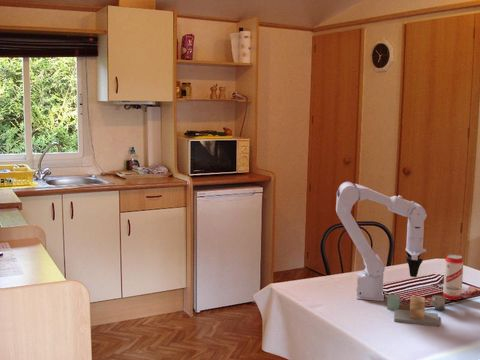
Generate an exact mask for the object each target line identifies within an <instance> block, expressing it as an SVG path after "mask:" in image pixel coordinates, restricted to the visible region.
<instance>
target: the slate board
mask: <svg viewBox="0 0 480 360" xmlns="http://www.w3.org/2000/svg"><path fill="white" fill-rule="evenodd" d="M393 322H396V323H405V324H412V325H425V326H433V327H439V326H440V319H439V314H438V313H434V312H426V311H424V320H422V319H413V318H410V310H406V309H405V310H404V309H399V310H398V309H395V310H394V318H393Z"/></svg>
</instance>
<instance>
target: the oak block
mask: <svg viewBox="0 0 480 360" xmlns="http://www.w3.org/2000/svg"><path fill="white" fill-rule="evenodd" d="M409 301H410V303H409V311H410V318H413V319H422V320H424V312H425V308H426V307H425V305H426V303H425V302H426V299H425V297H424V296H416V295H410V300H409Z"/></svg>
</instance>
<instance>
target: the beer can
mask: <svg viewBox="0 0 480 360" xmlns="http://www.w3.org/2000/svg"><path fill="white" fill-rule="evenodd" d="M443 273H444V274H443V286H442V287H443V291H442V296H443V297H444V298H448V299H454V300H455V299H459V300H461V299H462V289H463V273H464V259H463V256H462V255H459V254H456V253H454V254H453V253H451V254H450V253H448V254H447V256H446V258H445V259H444V272H443Z"/></svg>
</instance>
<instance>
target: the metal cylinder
mask: <svg viewBox="0 0 480 360" xmlns="http://www.w3.org/2000/svg"><path fill="white" fill-rule="evenodd" d="M430 304H431V305H432V306H434V307H435V309H434V310H433V311H436V312H443V311H445V309H446V307H445V306H446V299H445V297H444V296H443V295H437V294H436V295H432V296H431V303H430Z"/></svg>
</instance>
